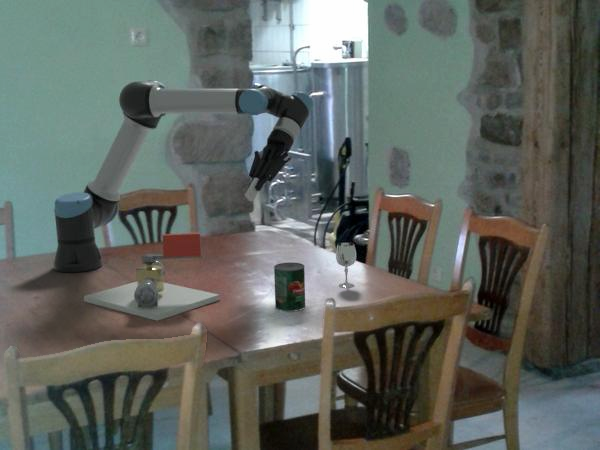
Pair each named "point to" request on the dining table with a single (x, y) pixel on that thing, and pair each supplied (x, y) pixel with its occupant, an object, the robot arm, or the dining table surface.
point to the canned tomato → (289, 286)
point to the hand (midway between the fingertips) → (248, 198)
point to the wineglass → (346, 259)
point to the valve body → (149, 284)
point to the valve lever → (177, 247)
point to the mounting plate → (169, 300)
